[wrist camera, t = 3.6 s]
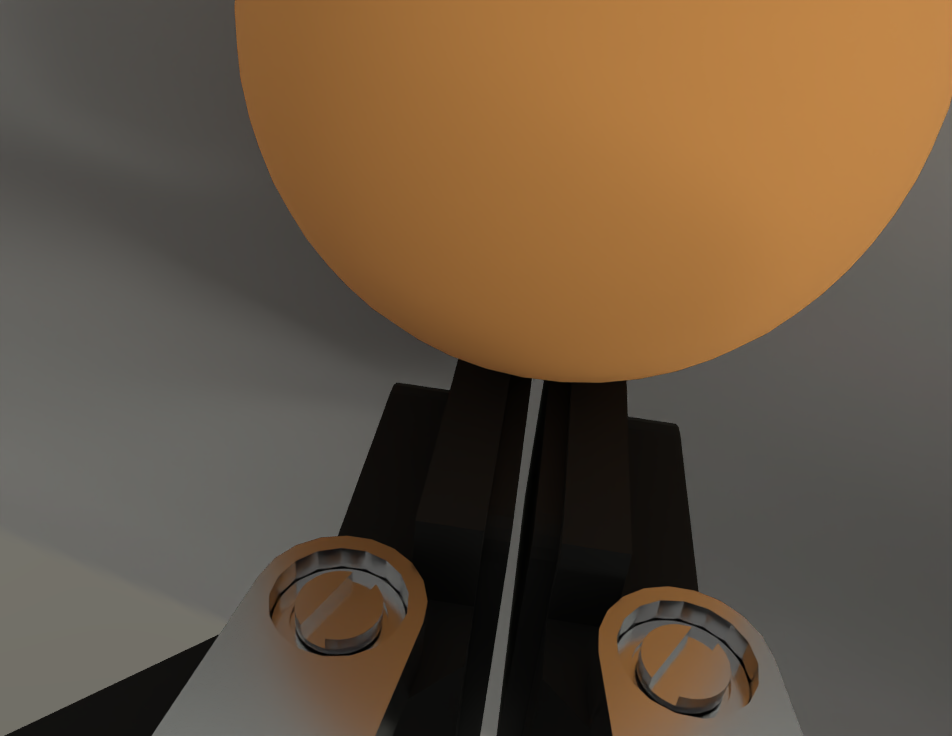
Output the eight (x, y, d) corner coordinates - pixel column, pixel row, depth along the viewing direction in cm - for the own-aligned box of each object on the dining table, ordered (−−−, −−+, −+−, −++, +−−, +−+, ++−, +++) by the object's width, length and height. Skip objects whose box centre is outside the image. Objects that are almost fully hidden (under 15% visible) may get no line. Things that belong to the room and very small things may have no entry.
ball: (834, 133, 10) (1084, -507, 6) (826, 558, 7) (1316, -72, 3) (395, 76, 11) (317, -518, 7) (231, 437, 8) (-105, -194, 4)
